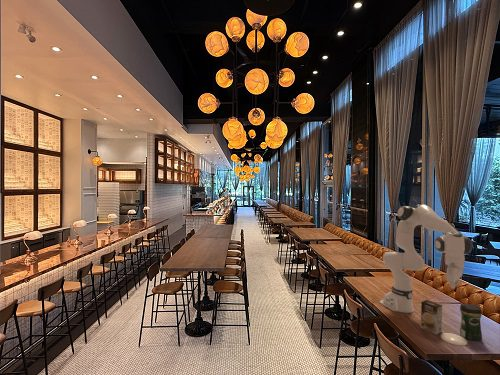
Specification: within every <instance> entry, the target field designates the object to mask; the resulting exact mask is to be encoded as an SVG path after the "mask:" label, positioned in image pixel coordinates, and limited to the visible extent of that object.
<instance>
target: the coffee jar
mask: <svg viewBox="0 0 500 375" xmlns="http://www.w3.org/2000/svg"><path fill="white" fill-rule="evenodd" d="M459 311H460V313H461V316H460V317H461V322H460V328H459V334H460V336H461V337H463V338H465V339H466V340H469V341H482V339H483V335H482V334H483V333H482V326H481V318H482V316H483V314H482V313H483V312H482V308H481V307H480V305H478V304H471V303H470V304H469V303H460V308H459Z"/></svg>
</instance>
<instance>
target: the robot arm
mask: <svg viewBox="0 0 500 375" xmlns="http://www.w3.org/2000/svg"><path fill="white" fill-rule="evenodd" d="M396 215H397V218H398V219H400V221H399V222H398V224H397V227H396V235H395V236H396V237H395V244H396V246H397V247H398V248H400V249H401V250H403V251H404V252H399V251H386V252H384V254H383V256H382V261H383V263H384V265H385V266H387V268H388V269H389V270H390V271H391V274H392V277H393V286H390V287H389V288H390V289H391V291H389V292H387V293H385V294H384V296H383V299H381V300H379V304H380V305H382V306H384V307H386V308H388V309H390V310H391V311H393V312H400V313H404V314H405V313H406V314H407V313H410V314H411V313H414V312H415V308H414V305H413V287H412V284H413V283H412V282H413V280H412V277H411V276H410V275H409V274H407V273H405V271H404V270H406V271H407V270H409V271H422V270H423V269H424V268H425V259H424V257H422V256H421V255H420V254H419V253H418V252H417V250H416V248H415V245H414V236H415V234H414V233H415V232H414V231H415V228H417V229H419V228H420V229H421V228H422V227H423V228H424V229H426V230H429V231H434V232H440V233H443V234H444V235H439V236H437V237H436V238H435V239H434V248H435V249H436V251H437V252H440V253H443V254H444V253H445V255H444V264H445V265H446V266H447V268H446V274H445V275H446V276H445V280H446V282H448V283H449V285H450V289H452V290H454V289H456V287H458V286H459V281H460V278H461V277H463V274H464V267H465V264H466V258H465V255H468V254H470V252H472V250H473V247H474V244H473V242H472V240H471V239H470V238H469V237H468V236H466V235H464V234H463V233H461V231H459V230H458V229H457V228H456V227H455V226H454V225H453V224H452V223H450V222H448V221H447V220H445V219H443V218H442V217H440V216H439V215H438V214H437V213H436V212H435V210H434V209H432V207H430V206H428V205H427V204H421V205H419V206H417V207H416V208H415V207H412V206H407V205H402V206H400V207H399V208H398V210H397V212H396Z"/></svg>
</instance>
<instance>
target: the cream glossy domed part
mask: <svg viewBox="0 0 500 375" xmlns="http://www.w3.org/2000/svg"><path fill="white" fill-rule="evenodd" d="M440 339H442V341H444V342H446V343H448V344H451V345H455V346H463V347H464V346H467V345H468V339H466V338H464V337H462V336H461V335H458V334H455V333H450V332H441V333H440Z"/></svg>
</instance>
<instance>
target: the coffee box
mask: <svg viewBox="0 0 500 375" xmlns="http://www.w3.org/2000/svg"><path fill="white" fill-rule="evenodd" d="M420 312H421V313H420V314H421V315H420V316H421V317H420V329H422V330H425V331H427V332H429V333H431V334H434V335H438V334H441V333H442V328H443V326H442V325H443V321H442V320H443V304H439V303H437V302H434V301H431V300H429V299H425V300H423V301H421V311H420Z"/></svg>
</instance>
